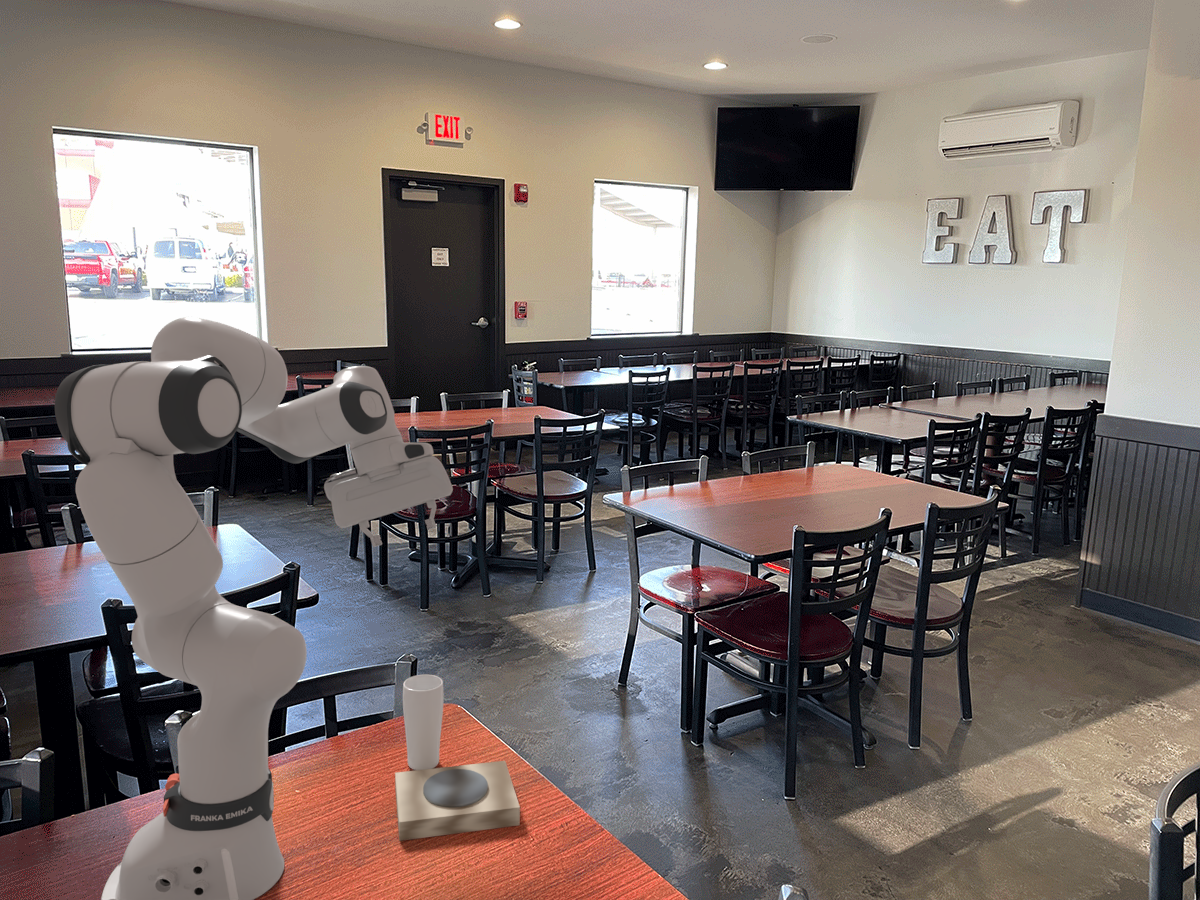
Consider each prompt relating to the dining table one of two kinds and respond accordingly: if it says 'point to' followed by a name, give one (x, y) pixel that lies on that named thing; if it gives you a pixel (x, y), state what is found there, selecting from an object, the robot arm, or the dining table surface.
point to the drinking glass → (423, 720)
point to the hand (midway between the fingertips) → (405, 537)
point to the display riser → (455, 800)
